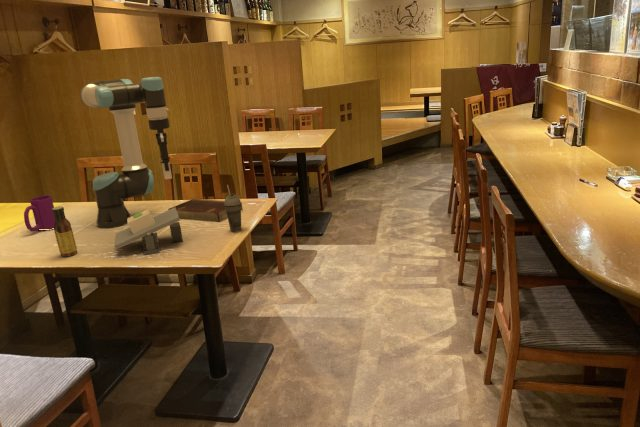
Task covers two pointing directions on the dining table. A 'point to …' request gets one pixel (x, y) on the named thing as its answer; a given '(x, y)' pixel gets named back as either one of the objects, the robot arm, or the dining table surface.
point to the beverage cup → (233, 211)
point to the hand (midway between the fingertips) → (168, 177)
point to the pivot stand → (152, 240)
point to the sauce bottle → (64, 233)
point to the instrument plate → (158, 225)
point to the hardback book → (202, 210)
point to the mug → (40, 213)
